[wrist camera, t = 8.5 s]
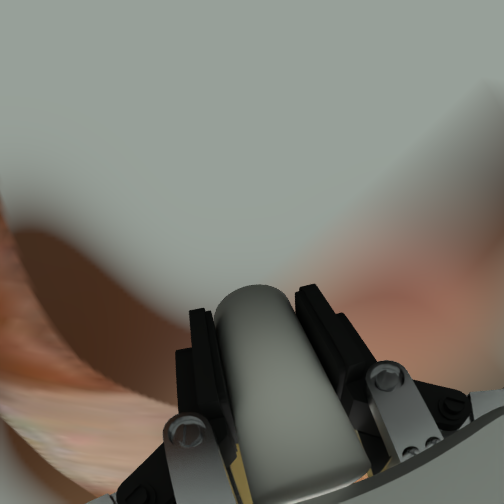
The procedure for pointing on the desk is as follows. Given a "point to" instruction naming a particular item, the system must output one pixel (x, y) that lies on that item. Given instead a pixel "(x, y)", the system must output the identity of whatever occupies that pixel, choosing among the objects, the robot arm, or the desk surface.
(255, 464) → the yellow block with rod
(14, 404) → the desk surface
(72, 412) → the desk surface
